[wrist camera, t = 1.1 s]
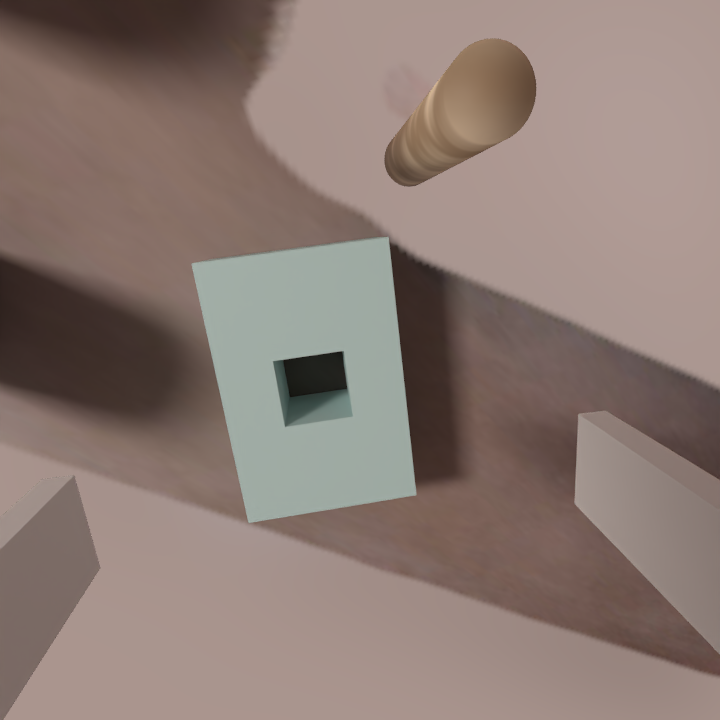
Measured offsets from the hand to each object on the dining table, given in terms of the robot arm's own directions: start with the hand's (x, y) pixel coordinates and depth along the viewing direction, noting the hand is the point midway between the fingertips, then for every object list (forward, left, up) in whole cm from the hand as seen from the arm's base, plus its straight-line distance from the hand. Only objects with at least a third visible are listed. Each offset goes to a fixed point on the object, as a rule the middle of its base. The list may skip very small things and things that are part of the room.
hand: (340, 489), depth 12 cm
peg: (-11, +8, -24) cm, 28 cm away
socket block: (+3, -1, -24) cm, 25 cm away
